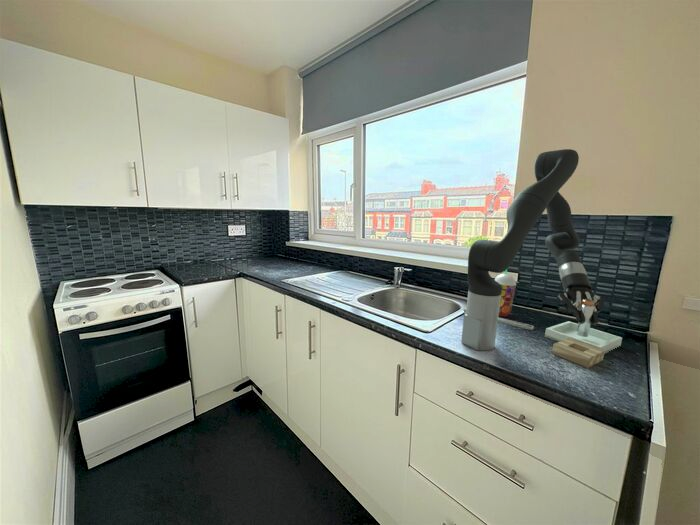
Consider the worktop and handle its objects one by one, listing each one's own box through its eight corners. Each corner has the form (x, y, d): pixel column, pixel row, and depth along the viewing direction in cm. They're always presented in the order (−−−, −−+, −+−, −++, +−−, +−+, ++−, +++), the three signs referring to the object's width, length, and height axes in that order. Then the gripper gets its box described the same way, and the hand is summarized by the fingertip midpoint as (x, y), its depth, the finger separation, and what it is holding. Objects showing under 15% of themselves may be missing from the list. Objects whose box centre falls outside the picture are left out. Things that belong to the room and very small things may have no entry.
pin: (585, 337, 91) (592, 302, 89) (574, 333, 94) (580, 299, 91) (590, 335, 92) (596, 301, 90) (579, 332, 95) (585, 298, 93)
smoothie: (492, 309, 123) (498, 264, 119) (514, 313, 117) (520, 267, 114) (487, 314, 117) (492, 267, 113) (509, 319, 111) (515, 270, 108)
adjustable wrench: (534, 329, 103) (534, 325, 103) (530, 335, 99) (530, 330, 98) (466, 311, 120) (466, 307, 120) (459, 315, 116) (460, 311, 115)
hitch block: (587, 368, 77) (589, 357, 77) (551, 353, 85) (553, 344, 84) (602, 360, 81) (604, 350, 81) (567, 347, 89) (568, 338, 89)
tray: (598, 356, 83) (600, 347, 83) (544, 336, 96) (545, 328, 96) (620, 346, 90) (622, 337, 90) (567, 328, 103) (568, 321, 103)
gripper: (556, 270, 98) (570, 316, 88) (603, 273, 95) (622, 320, 86) (547, 281, 104) (558, 325, 94) (590, 284, 101) (607, 330, 92)
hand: (588, 323), depth 90 cm, fingers closed on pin, 3 cm apart
